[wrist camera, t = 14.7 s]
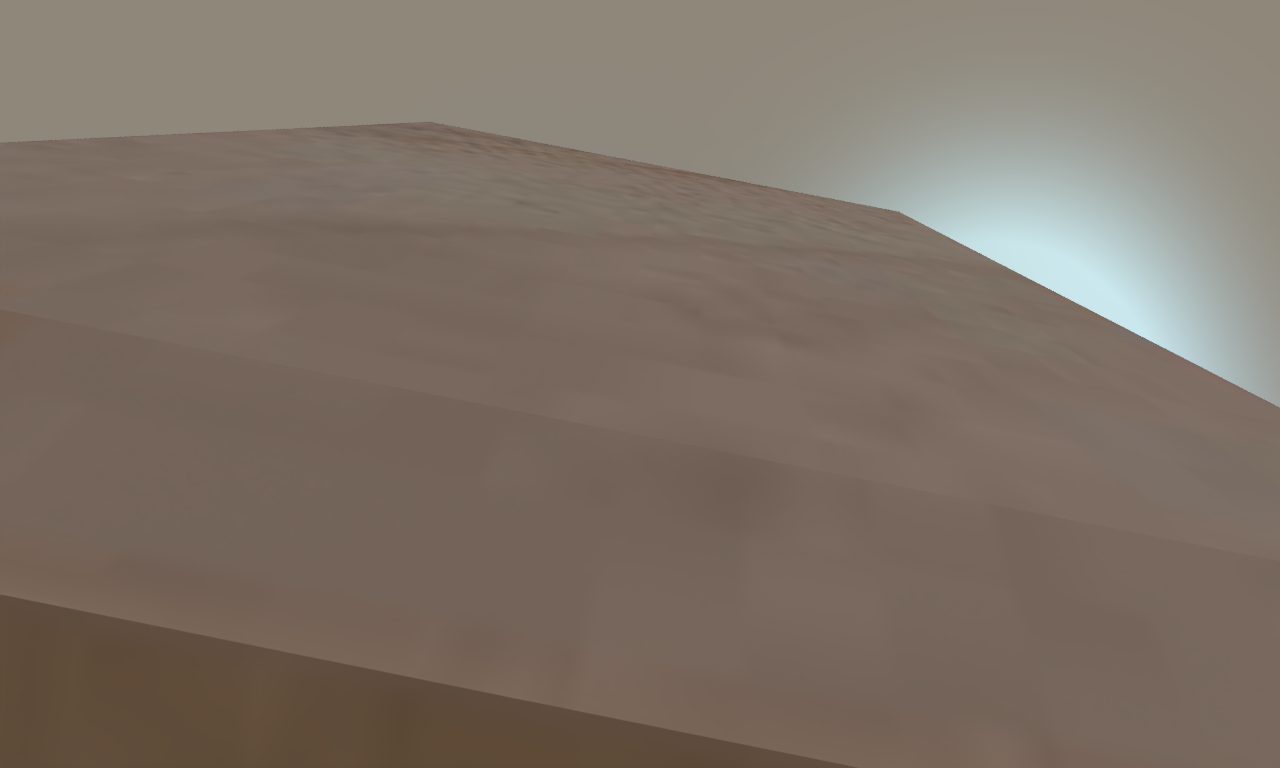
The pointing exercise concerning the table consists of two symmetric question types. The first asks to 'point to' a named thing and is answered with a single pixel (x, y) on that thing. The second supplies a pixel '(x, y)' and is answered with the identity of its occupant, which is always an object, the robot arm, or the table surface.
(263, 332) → the wooden block
